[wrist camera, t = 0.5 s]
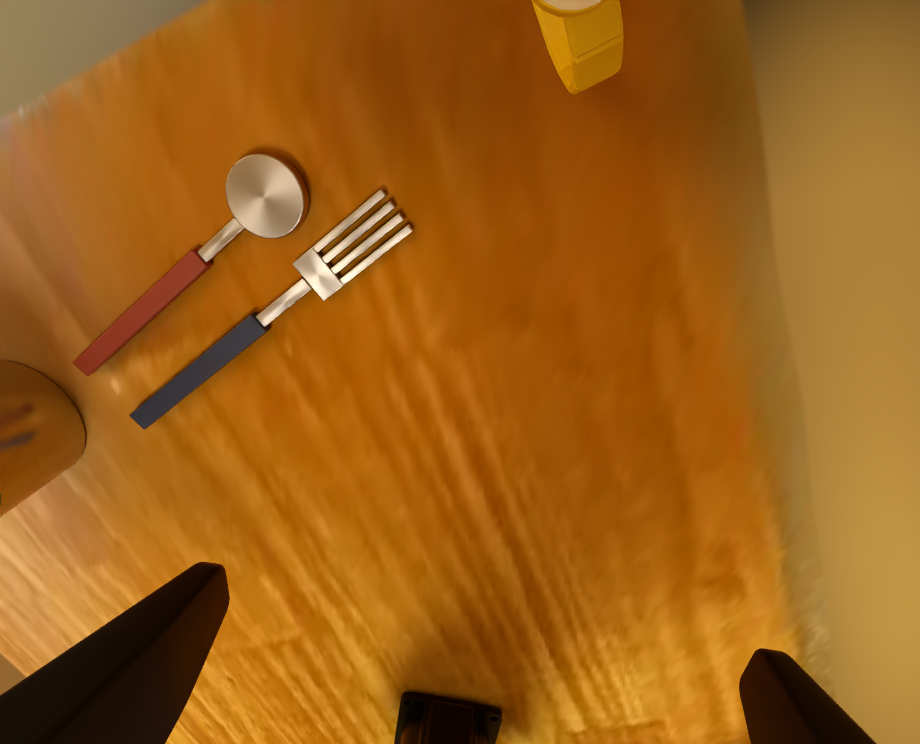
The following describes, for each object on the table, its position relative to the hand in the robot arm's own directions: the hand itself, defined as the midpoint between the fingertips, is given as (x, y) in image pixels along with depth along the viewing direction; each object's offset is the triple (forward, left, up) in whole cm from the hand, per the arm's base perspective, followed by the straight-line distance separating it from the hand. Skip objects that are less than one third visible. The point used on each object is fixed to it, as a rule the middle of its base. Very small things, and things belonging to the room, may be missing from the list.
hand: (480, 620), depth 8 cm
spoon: (+1, +14, -15) cm, 20 cm away
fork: (-2, +11, -15) cm, 18 cm away
